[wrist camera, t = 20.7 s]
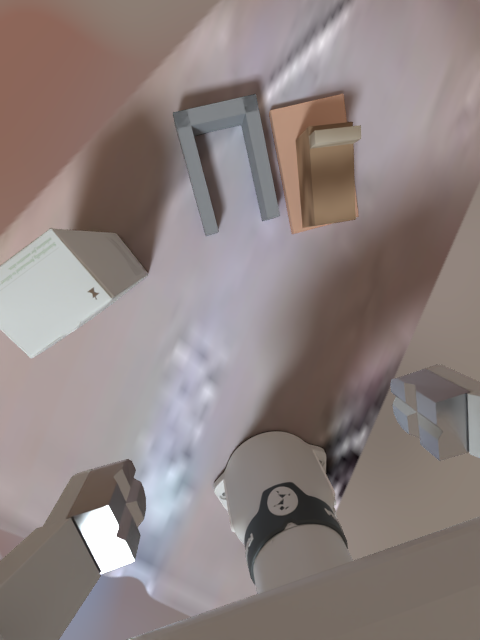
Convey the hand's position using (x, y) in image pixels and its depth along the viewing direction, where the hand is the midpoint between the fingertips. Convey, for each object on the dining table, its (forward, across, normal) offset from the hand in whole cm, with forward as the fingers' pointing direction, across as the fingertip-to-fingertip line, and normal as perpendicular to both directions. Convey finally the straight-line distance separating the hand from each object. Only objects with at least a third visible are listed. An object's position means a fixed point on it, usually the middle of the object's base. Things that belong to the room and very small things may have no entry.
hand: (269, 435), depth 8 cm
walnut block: (+29, -16, -10) cm, 35 cm away
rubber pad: (+30, -16, -12) cm, 36 cm away
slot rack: (+30, -5, -13) cm, 33 cm away
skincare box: (+30, +12, -6) cm, 33 cm away
